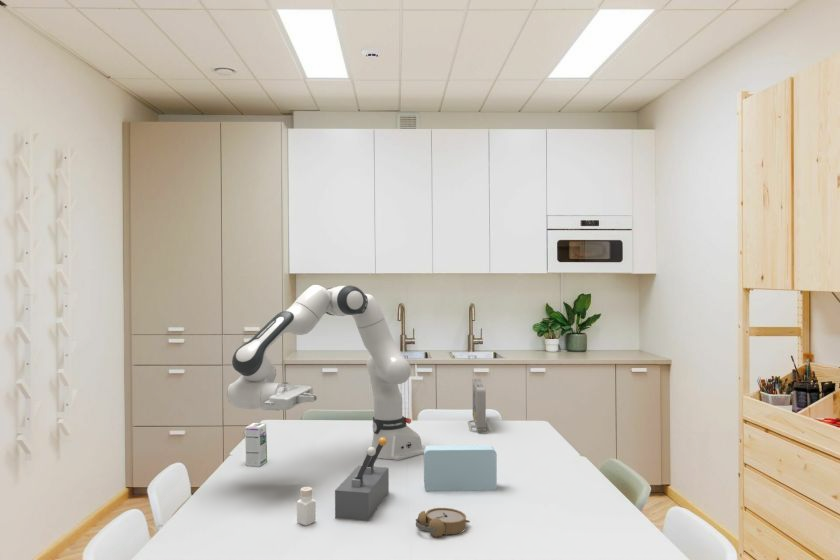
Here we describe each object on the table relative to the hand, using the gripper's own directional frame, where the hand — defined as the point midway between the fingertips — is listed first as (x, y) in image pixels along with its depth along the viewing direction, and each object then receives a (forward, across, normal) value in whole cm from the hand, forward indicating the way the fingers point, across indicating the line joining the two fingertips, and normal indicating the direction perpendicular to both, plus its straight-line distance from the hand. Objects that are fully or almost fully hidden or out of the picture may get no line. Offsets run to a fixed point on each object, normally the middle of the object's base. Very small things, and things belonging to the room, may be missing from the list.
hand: (315, 398), depth 188 cm
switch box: (+18, -7, +30) cm, 36 cm away
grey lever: (+18, -13, +21) cm, 31 cm away
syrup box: (-32, +21, +30) cm, 49 cm away
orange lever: (+18, -2, +21) cm, 28 cm away
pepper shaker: (+6, -23, +30) cm, 38 cm away
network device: (+43, +89, +30) cm, 104 cm away
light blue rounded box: (+45, +12, +30) cm, 56 cm away
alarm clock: (+44, -19, +30) cm, 57 cm away
